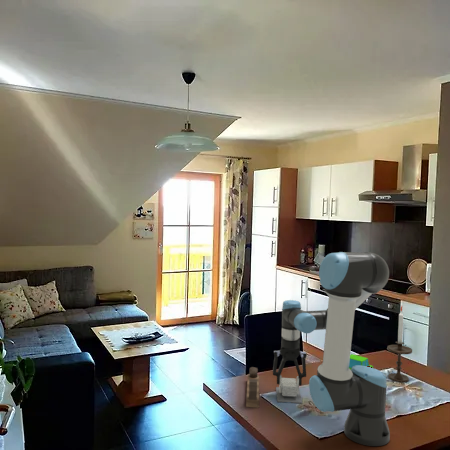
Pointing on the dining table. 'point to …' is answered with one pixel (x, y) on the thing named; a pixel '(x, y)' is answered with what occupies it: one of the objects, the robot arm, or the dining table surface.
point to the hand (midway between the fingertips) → (288, 392)
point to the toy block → (358, 361)
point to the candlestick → (399, 353)
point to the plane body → (253, 388)
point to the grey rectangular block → (289, 387)
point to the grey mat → (288, 397)
